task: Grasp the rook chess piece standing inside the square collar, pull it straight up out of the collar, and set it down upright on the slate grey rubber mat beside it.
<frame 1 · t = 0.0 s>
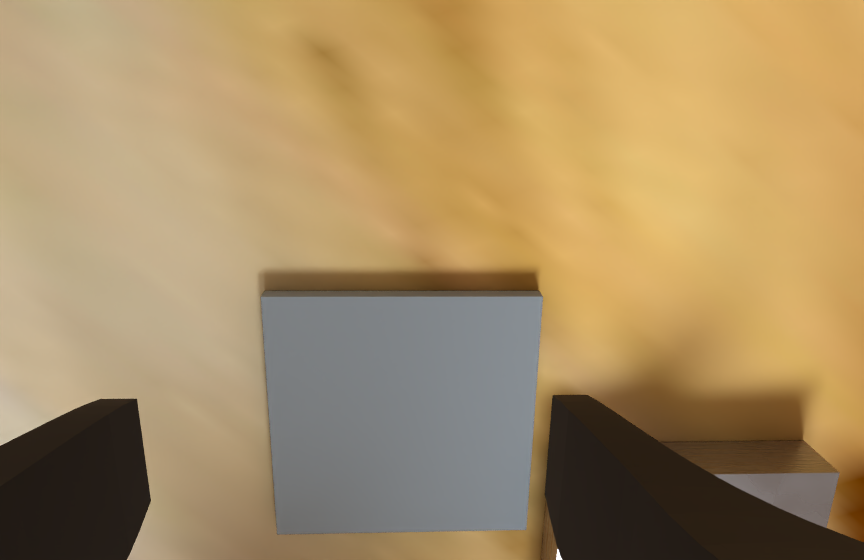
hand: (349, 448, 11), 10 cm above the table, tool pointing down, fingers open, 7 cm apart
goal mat: (403, 412, 22), on the table
square collar: (662, 549, 25), on the table
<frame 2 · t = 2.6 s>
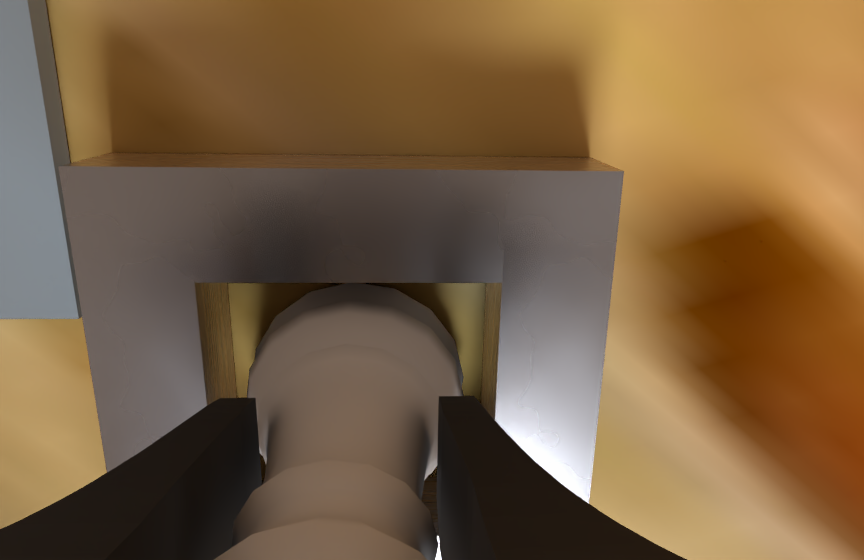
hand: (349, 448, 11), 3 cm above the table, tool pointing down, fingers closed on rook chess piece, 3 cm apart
square collar: (359, 372, 14), on the table
rook chess piece: (360, 368, 14), resting in square collar, touching gripper
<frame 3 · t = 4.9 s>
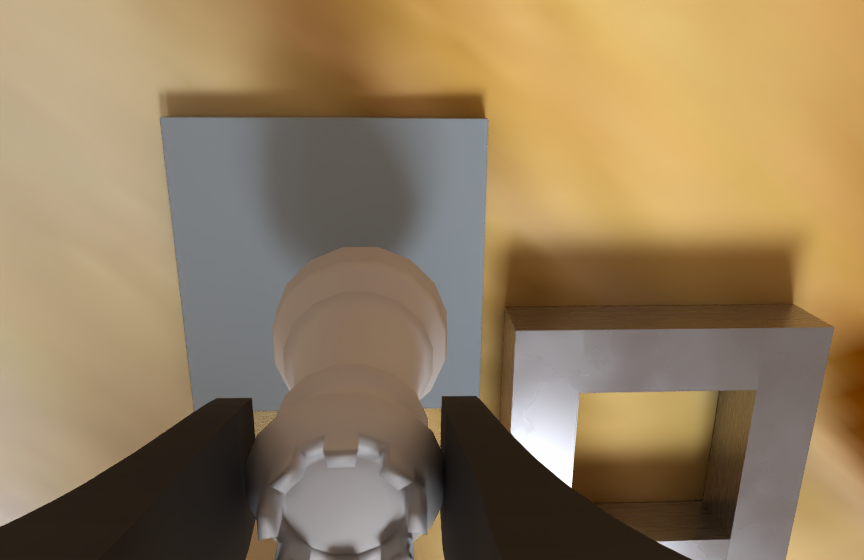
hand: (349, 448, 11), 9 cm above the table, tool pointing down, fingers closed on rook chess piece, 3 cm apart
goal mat: (334, 268, 19), on the table
square collar: (635, 435, 22), on the table
rook chess piece: (363, 319, 17), point 3 cm above the table, touching gripper
when the fingers open (5 cm above the table, at t = 6.5 s): rook chess piece stays where it is, resting on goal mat.
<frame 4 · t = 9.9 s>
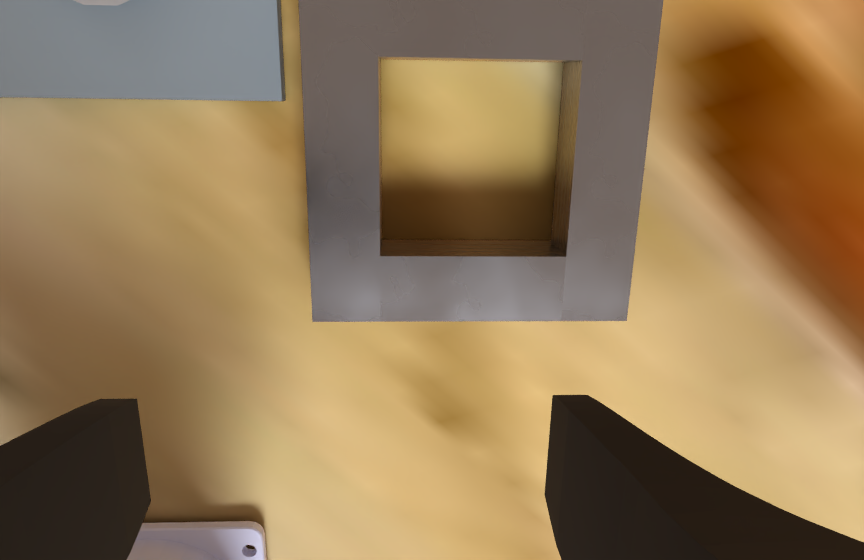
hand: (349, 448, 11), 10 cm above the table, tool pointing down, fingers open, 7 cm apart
square collar: (469, 153, 19), on the table
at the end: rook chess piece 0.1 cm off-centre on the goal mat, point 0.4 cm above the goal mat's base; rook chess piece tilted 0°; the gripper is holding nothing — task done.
